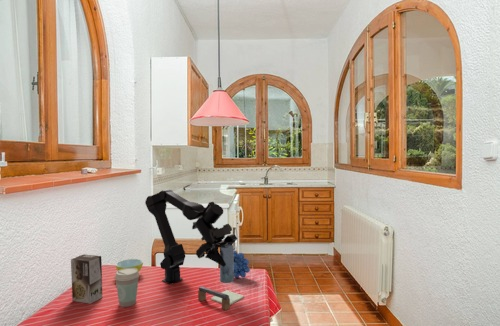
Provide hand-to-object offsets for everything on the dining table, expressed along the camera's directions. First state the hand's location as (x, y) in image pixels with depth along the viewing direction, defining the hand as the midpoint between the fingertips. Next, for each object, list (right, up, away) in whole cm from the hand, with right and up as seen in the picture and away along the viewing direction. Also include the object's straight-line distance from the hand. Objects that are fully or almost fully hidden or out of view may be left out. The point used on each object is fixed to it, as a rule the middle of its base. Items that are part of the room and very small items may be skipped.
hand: (229, 263), depth 123 cm
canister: (-1, -7, +1) cm, 7 cm away
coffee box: (-54, -14, +2) cm, 56 cm away
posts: (-6, -14, -3) cm, 15 cm away
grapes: (+2, -13, +21) cm, 25 cm away
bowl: (-47, -14, +25) cm, 55 cm away
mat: (-1, -13, +1) cm, 13 cm away
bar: (-6, -10, -4) cm, 12 cm away
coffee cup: (-38, -14, -2) cm, 40 cm away
